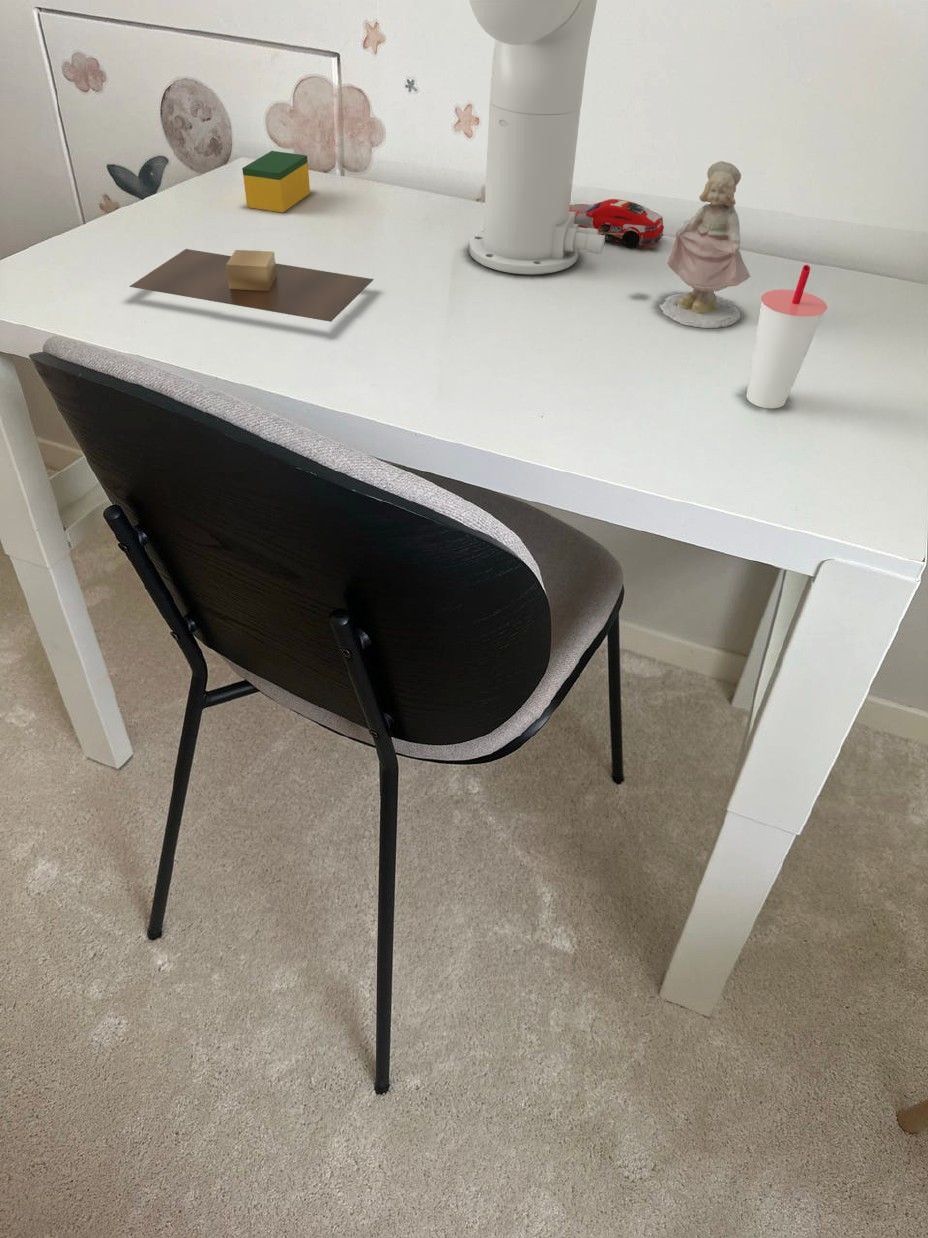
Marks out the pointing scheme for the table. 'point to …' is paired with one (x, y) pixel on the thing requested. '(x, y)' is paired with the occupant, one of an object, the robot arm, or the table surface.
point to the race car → (620, 221)
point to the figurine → (709, 255)
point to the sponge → (276, 181)
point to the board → (287, 294)
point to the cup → (782, 342)
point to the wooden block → (251, 270)
